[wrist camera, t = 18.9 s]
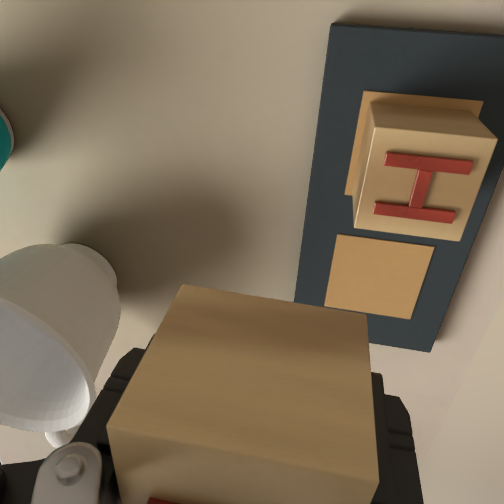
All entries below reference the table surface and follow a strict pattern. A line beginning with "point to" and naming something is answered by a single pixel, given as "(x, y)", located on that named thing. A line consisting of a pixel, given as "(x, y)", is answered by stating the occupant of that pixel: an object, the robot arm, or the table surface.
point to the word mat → (345, 164)
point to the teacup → (54, 336)
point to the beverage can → (5, 139)
